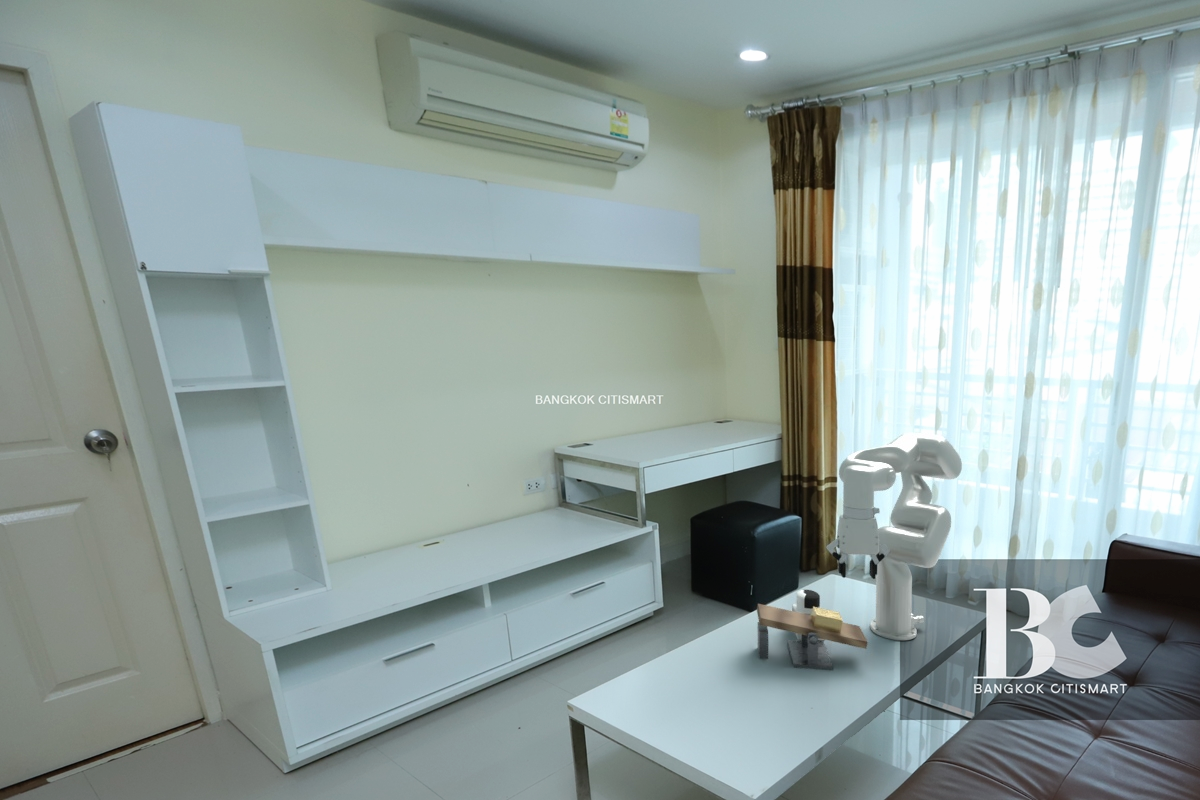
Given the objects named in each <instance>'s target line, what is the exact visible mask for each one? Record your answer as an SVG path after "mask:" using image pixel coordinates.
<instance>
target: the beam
mask: <svg viewBox="0 0 1200 800" xmlns="http://www.w3.org/2000/svg"><path fill="white" fill-rule="evenodd" d="M756 613H757V619H758V622H759V625H763V626H767V628H768V627H769V628H772V629H776V630H781V631H784V632H785V631H786V632H790V633H794V634H795V633H798V634H803V635H807V636H808V632H817V633H818V638H820V639H824V641H830V642H834V643H838V644H842V645H848V646H852V647H855V648H860V649H865V650H866V649H867V647H868V643H869V641H868V639H867V637H866V636H865V633H864V632H863V630H862V628H861V626H860V625H856V624H851V623H848V622H847V623H846V622H843V623H842V628H841V632H835V631H831V630H826V629H822V628H818V627H814V626H813V623H812V620H811V615H807V614H803V613H798V612H794V611H792V610H788V609H784V608H781V607H780V608H779V607H776V606H770V605H766V604H761V603H757V606H756Z"/></svg>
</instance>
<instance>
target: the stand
mask: <svg viewBox="0 0 1200 800" xmlns="http://www.w3.org/2000/svg"><path fill="white" fill-rule="evenodd" d="M807 615H810V614H807ZM787 646H788V650H789V655H790V657H791V662H792V666H793V668H794V669H795V668H796V669H806V670H807V669H810V670H826V671H834V667H833V666H834V665H833V663H832V659H831V658H830V655H829V653H828V650H827V648H826V645H825V642H824V641H819V640H818V633H817V632H808V636H807V635H803V634H801V640H792V639H791V640H789V639H787ZM757 652H758V658H759V660H761V659H762V660H769V629H768V627H767V626H763V625H759V621H757Z"/></svg>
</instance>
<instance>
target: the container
mask: <svg viewBox="0 0 1200 800" xmlns="http://www.w3.org/2000/svg"><path fill="white" fill-rule="evenodd" d="M820 597H821V596H820V594H819V592H816V591H814V590H811V589H800V590H798V591H797V592H796V603H792V604H791V606H792V607H791V611H794V612H798V613H803V614H810V615H811V614H812V610H813V607H817V608H821V605H820V604H821V602H820V601H821V600H820V599H821V598H820ZM794 634H795V637H796V639H797V641H801V634H798V633H794ZM818 641H825V639H820V638H818Z"/></svg>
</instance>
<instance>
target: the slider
mask: <svg viewBox="0 0 1200 800" xmlns="http://www.w3.org/2000/svg"><path fill="white" fill-rule="evenodd" d="M811 620H812V623H813V626H814V627H818V628H822V629H826V630H831V631H835V632H841V628H842V623H844V620H843V618H842V616H841V613H840V611H835V610H830V609H825V608H822V607H820V608H817V607H813V610H812V614H811Z"/></svg>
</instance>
